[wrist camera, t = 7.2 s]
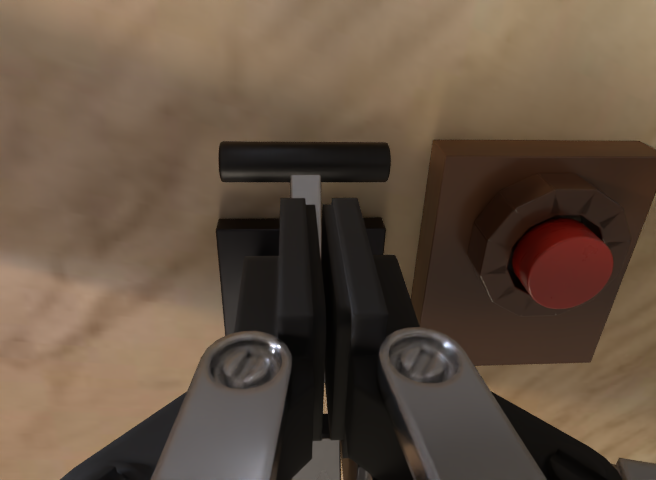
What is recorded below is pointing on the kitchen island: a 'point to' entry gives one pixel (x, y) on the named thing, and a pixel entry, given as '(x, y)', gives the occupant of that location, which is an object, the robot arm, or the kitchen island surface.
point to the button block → (509, 227)
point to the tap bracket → (264, 241)
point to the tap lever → (305, 182)
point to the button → (562, 263)
